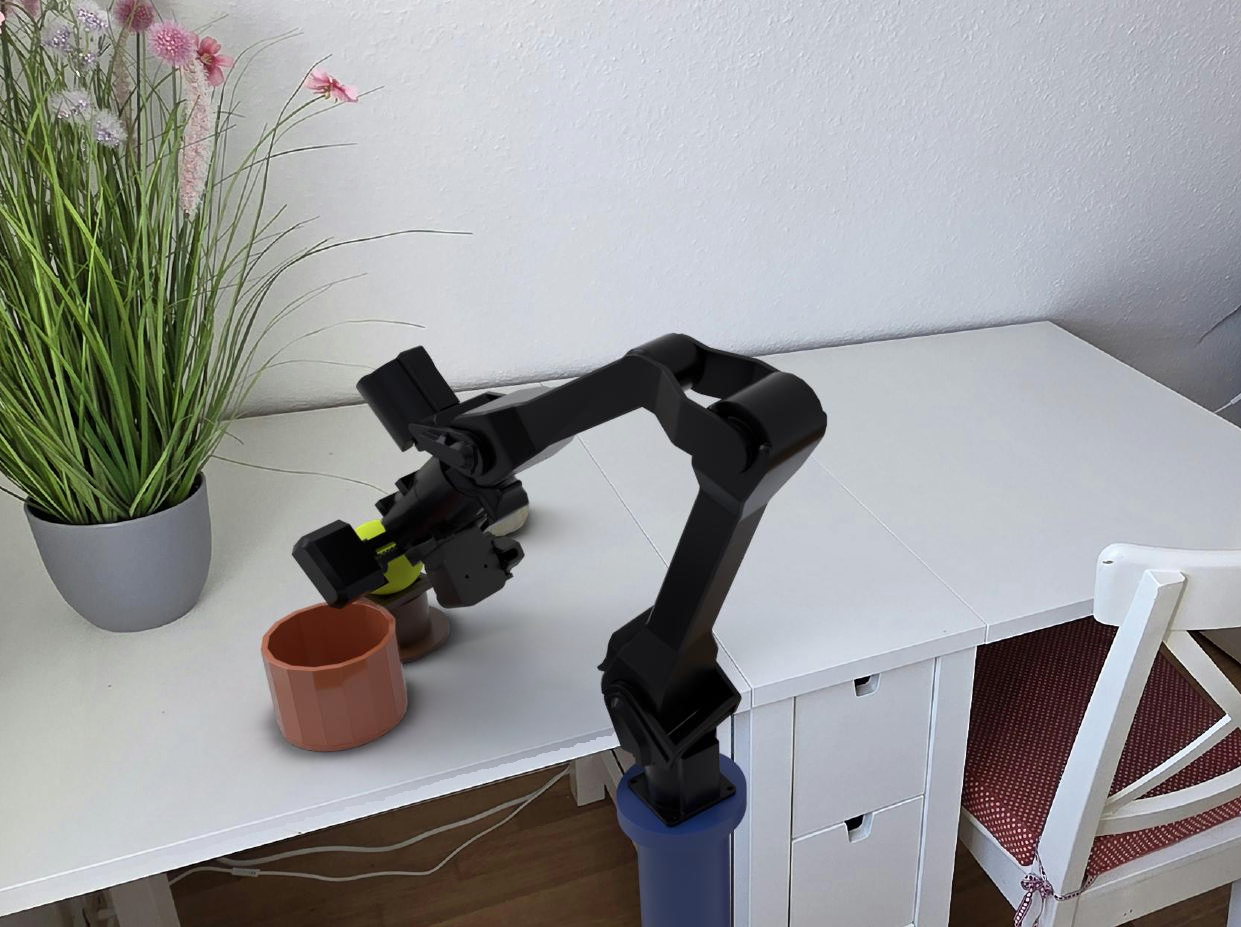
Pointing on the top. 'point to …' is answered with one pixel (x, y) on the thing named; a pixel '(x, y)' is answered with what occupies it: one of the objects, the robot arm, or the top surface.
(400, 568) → the tennis ball
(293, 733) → the terracotta pot
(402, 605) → the ball stand
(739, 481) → the robot arm
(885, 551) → the top surface
